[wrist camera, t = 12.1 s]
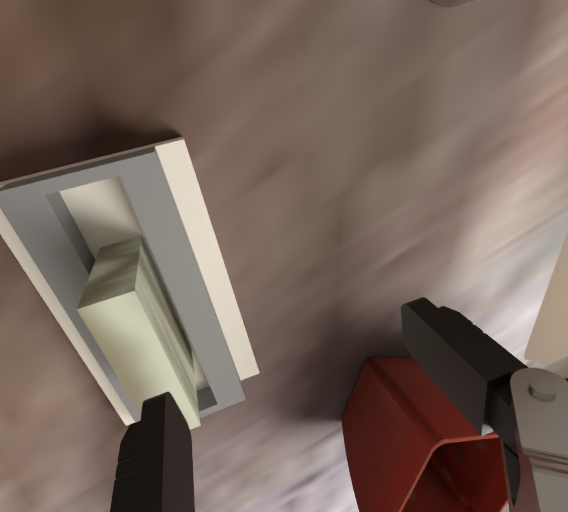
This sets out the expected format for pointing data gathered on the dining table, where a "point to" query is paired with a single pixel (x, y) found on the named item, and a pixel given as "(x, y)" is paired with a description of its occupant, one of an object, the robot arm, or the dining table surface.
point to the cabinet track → (161, 245)
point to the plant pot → (417, 446)
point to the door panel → (139, 327)
